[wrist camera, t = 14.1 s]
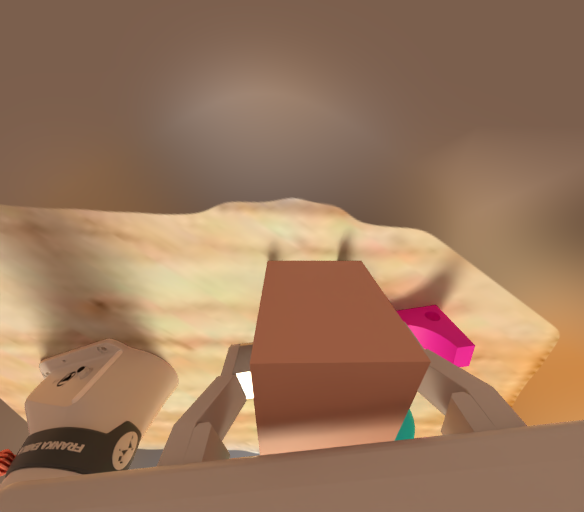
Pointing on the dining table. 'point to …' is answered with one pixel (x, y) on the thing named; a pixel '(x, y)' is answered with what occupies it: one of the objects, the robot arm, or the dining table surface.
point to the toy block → (438, 334)
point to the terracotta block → (330, 359)
